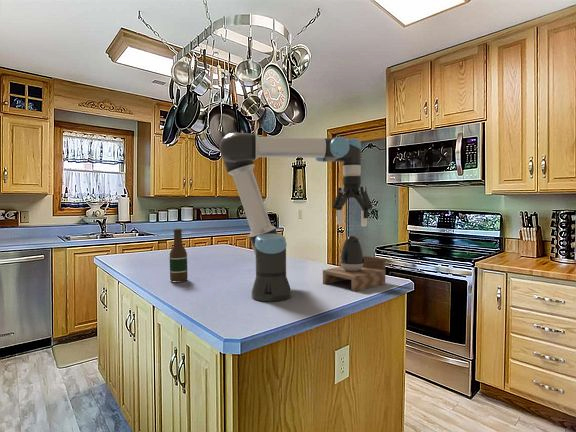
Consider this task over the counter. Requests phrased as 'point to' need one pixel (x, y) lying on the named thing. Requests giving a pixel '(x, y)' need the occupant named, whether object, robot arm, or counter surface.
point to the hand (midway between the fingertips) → (351, 225)
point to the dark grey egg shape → (352, 254)
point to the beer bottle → (178, 259)
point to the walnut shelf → (359, 274)
